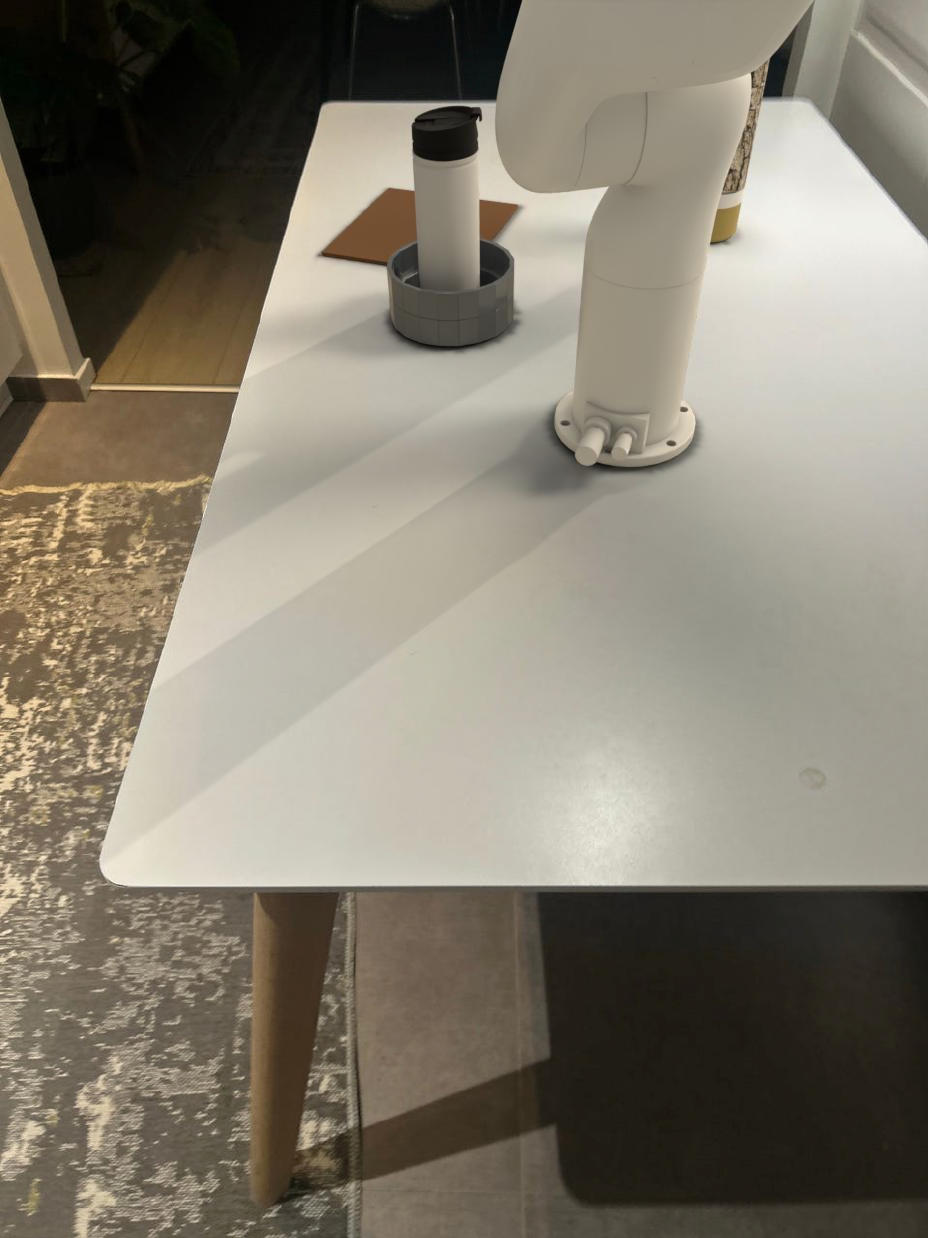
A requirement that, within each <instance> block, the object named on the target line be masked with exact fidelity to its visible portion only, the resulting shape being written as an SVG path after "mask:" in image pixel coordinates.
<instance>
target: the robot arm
mask: <svg viewBox="0 0 928 1238" xmlns="http://www.w3.org/2000/svg"><path fill="white" fill-rule="evenodd" d="M814 1H815V0H521V4H520V7H519V11H518V14H517V18H516V21H515V25H514V28H513V32H512V34H511V39H510V42H509V45H508V49H507V52H506V55H505V59H504V62H503V66H502V67H503V68H502V71H501V74H500V78H499V83H498V88H497V94H496V101H495V116H494V131H495V143H496V147H497V153H498V155H499V158H500V161H501V164H502V166H503V168H504V170H505V171H506V173H507V174H508V176H509V177H510V179H512V181H513V182H514V183H516V185H518V186H519V187H520V188H522V189H524V190H526V191H528V192H532V193H537V194H560V193H569V192H577V191H578V192H579V191H586V190H593V189H594V190H595V189H600V188H607V189H606V191H605V192H604V194H603V195H602V196H601V199H600V201H598V202H599V203H598V204H597V206H596V208H595V210H594V212H593V215H592V217H591V220H590V222H589V225H588V228H587V233H586V237H585V243H584V244H585V245H584V254H583V264H582V265H583V267H582V279H581V280H582V281H581V291H580V306H579V316H578V330H577V344H576V356H575V368H574V382H573V383H574V384H573V389H572V390H571V391H569V392H568V393H566V394H565V395H564V396H563V397H562V398H561V399H560V400H559V401H558V403H557V405H556V407H555V411H554V430H555V432H556V435H557V436H558V438H559V439H560V441H561V442H562V444H564V445H565V446H566V447H567V448H568V449H569V450H571V451H572V452H574V457H575V459H576V461H577V462H578V463H579V464H580V465H581V466H586V467H589V466H590V467H591V466H593V465H594V464H596V463H599V464H602V465H608V466H612V467H622V468H623V467H624V468H638V467H640V468H641V467H646V466H647V467H648V466H652V465H653V466H654V465H657V464H661V463H664V462H667V461H670V460H671V459H673V458H675V457H677V456H679V455H680V454H681V453H683V452H684V451H685V450H686V449H687V448H688V447H689V445H690V444H691V442H692V441H693V437H694V435H695V429H696V416H695V414H694V411H693V410H692V408H691V406H690V405H689V404H688V403H687V402H686V400H684V399H683V395H684V391H685V390H684V389H685V384H686V379H687V373H688V367H689V362H690V355H691V349H692V343H693V339H694V333H695V328H696V321H697V316H698V309H699V304H700V299H701V292H702V288H703V282H704V276H705V270H706V268H707V262H708V257H709V251H710V246H711V242H710V241H711V236H712V231H713V226H714V221H715V216H716V212H717V208H718V204H719V200H720V196H721V193H722V190H723V186H724V183H725V180H726V177H727V174H728V171H729V168H730V166H731V163H732V160H733V158H734V155H735V152H736V150H737V147H738V144H739V142H740V139H741V136H742V133H743V130H744V127H745V124H746V120H747V116H748V111H749V106H750V100H751V72H753V71H754V70H756V69H758V68H759V67H760V66H761V65H763V64H764V63H765V62H766V61H767V60H768V59H769V58H770V59H771V57H772V56H773V55H774V54H775V53H776V52H777V51H778V50H779V49H780V47H781V46H782V45H783V44H784V43H785V41H786V40H787V38H788V37H789V35H790V34H791V33H792V32H793V30H794V29H795V28H796V26H797V25H798V23H799V22H800V21H801V19H802V18H803V17H804V15H805V13H807V11H808V10H809V8H810V7H811V6H812V4H813V3H814Z"/></svg>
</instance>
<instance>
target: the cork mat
mask: <svg viewBox="0 0 928 1238" xmlns="http://www.w3.org/2000/svg"><path fill="white" fill-rule="evenodd" d="M518 208H519V204H518V203H516V204H515V203H510V202H509V203H508V202H503V201H502V202H500V201H493V200H486V199H479V238H483V239H486V240H489V241H492V242H493V241H494V239H495V238H496V236H497V235H499V233H500V231H502V229H503V227H504V226H505V225H506V224H507V222H509V220H510V219H511V217H512V216H513V215H514V213H516V211H517V210H518ZM415 241H417V227H416V209H415V191H414V190H411V189H402V188H395V187H388V188H386V190H385V191H384V192H383V193H382V194H381V195H380V196H379V197H377V198H376V199H375V200H374V201H373V202H372V203H371V204H370V205H369V206H368V207H367V208H366V209H365V210H364V211H362V213H361V214H360V215H359V216H358V217H357V218H356V219H355V220H353V222H351V223H350V224H349V225H348V226H347V227H346V228H345V229H344V230H343V231H342V232H341V233H340V234H339V235H338V236H337V237H336V238H335V239H333V241H332V242H330V243H329V244H328V245H327V246H326V247H325V248H324V249H323V250H322V251H321V255H322V256H323V257H324V256H325V257H331V258H337V259H343V260H351V261H357V262H358V261H359V262H365V263H369V264H370V263H371V264H376V265H383V266H387V264H388V259H389V258H390V257H391V256H392V255H393V253H394V252H395V251H396V250H398V249H400V248H401V247H403V246H405V245H407V244H409V243H411V242H415Z"/></svg>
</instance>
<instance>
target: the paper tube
mask: <svg viewBox="0 0 928 1238" xmlns="http://www.w3.org/2000/svg"><path fill="white" fill-rule="evenodd" d="M770 60H771V57H770V58H769V59H768V60H767V61H766V62H765V63H764V64H763V65H761V66H760V67H759V68H758V69H756V70H754V71H753V72H751V100H750V106H749V111H748V116H747V120H746V124H745V127H744V130H743V133H742V136H741V139H740V142H739V144H738V147H737V150H736V152H735V155H734V158H733V160H732V163H731V166H730V168H729V171H728V174H727V177H726V180H725V183H724V186H723V190H722V193H721V196H720V200H719V204H718V208H717V212H716V216H715V221H714V226H713V231H712V236H711V241H710V243H718V242H723V241H726V240H729V238H732V237H733V235H735V233H736V231H737V228H738V223H739V218H740V212H741V207H742V203H743V202H742V201H743V198H744V192H745V189H746V188H745V187H746V183H747V178H748V173H749V168H750V163H751V157H752V152H753V146H754V142H755V138H756V137H755V136H756V132H757V127H758V122H759V116H760V113H761V106H762V100H763V95H764V90H765V86H766V81H767V76H768V72H769V71H768V70H769V66H770Z"/></svg>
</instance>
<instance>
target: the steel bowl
mask: <svg viewBox="0 0 928 1238" xmlns="http://www.w3.org/2000/svg"><path fill="white" fill-rule="evenodd" d="M479 243H480V287H479V288H476V289H469V290H462V291H434V290H427V289H421V288H420V280H419V262H418V244H417V241H415V242H411V243H409V244H407V245H405V246H403V247H401V248H400V249H398V250H396V251H395V252H394V253H393V255H392V256H391V257H390V258H389V259H388V264H387V265H386V277H387V290H388V301H389V311H390V312H389V313H390V320H391V322H392V325H393V326H394V330H396V331H397V332H399V333H400V334H401V335H403V336H404V337H406V338H408V339H410V340H412V341H415V342H418V343H419V344H420V343H421V344H425V345H431V346H436V347H462V346H467V345H468V346H469V345H475V344H479V343H481V342H485V341H487V340H491V339H493V338H497V336H499V335H500V334H502V333H503V332H505V331H506V330H507V329H508V328H509V326H510V325H511V323H512V322H513V320H514V303H515V302H514V301H515V299H514V298H515V257H514V256H513V255H512V253H511V252H510V250H509V249H507V248H505V247H504V246H503V245H501V244H499V243H498V242H495V241H493V240H492V241H489V240H486V239H483V238H479Z"/></svg>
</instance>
